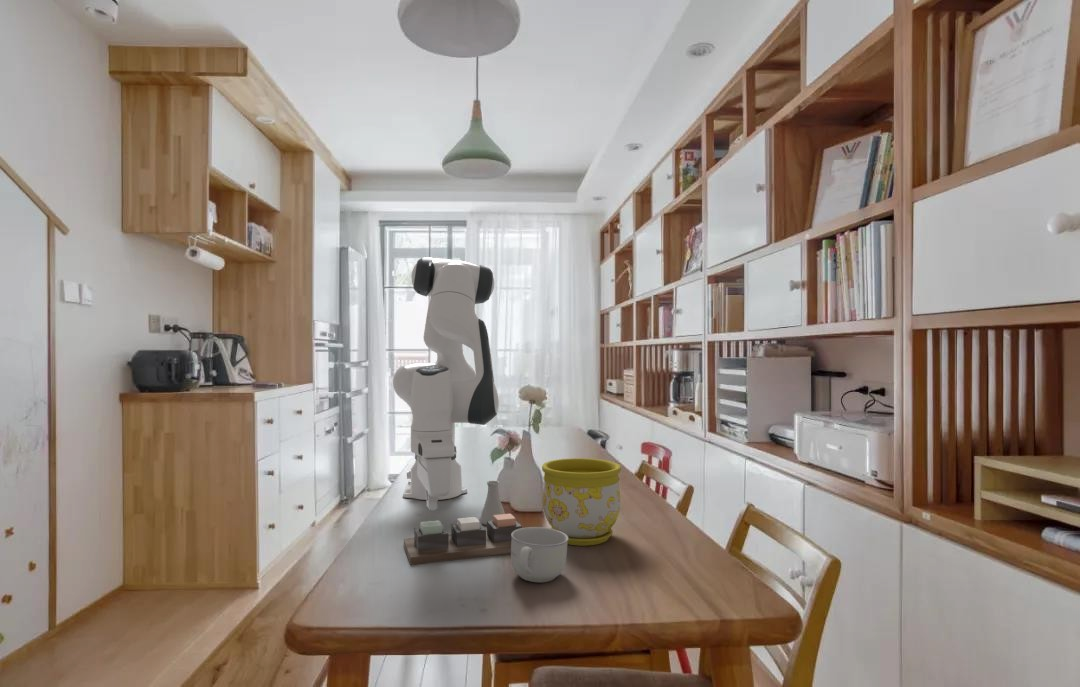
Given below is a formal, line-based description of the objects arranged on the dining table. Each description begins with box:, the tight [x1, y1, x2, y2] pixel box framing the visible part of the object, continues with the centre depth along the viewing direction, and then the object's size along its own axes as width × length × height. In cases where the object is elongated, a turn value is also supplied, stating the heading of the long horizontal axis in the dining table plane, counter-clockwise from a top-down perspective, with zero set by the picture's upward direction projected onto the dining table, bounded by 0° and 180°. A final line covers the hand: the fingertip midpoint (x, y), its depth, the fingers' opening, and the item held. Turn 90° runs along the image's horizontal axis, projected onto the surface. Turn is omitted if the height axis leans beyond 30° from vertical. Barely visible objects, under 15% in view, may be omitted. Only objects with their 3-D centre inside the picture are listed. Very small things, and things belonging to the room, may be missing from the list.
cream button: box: [456, 516, 480, 531], centre depth 126 cm, size 4×4×2 cm
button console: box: [403, 520, 523, 566], centre depth 126 cm, size 12×26×4 cm, turn 109°
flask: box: [478, 480, 506, 526], centre depth 146 cm, size 7×7×10 cm
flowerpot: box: [541, 457, 622, 547], centre depth 134 cm, size 18×18×16 cm
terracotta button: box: [493, 513, 517, 527], centre depth 129 cm, size 4×4×2 cm
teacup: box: [510, 526, 568, 583], centre depth 109 cm, size 14×11×8 cm
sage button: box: [419, 520, 443, 535], centre depth 123 cm, size 4×4×2 cm
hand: (431, 508), depth 124 cm, fingers closed
